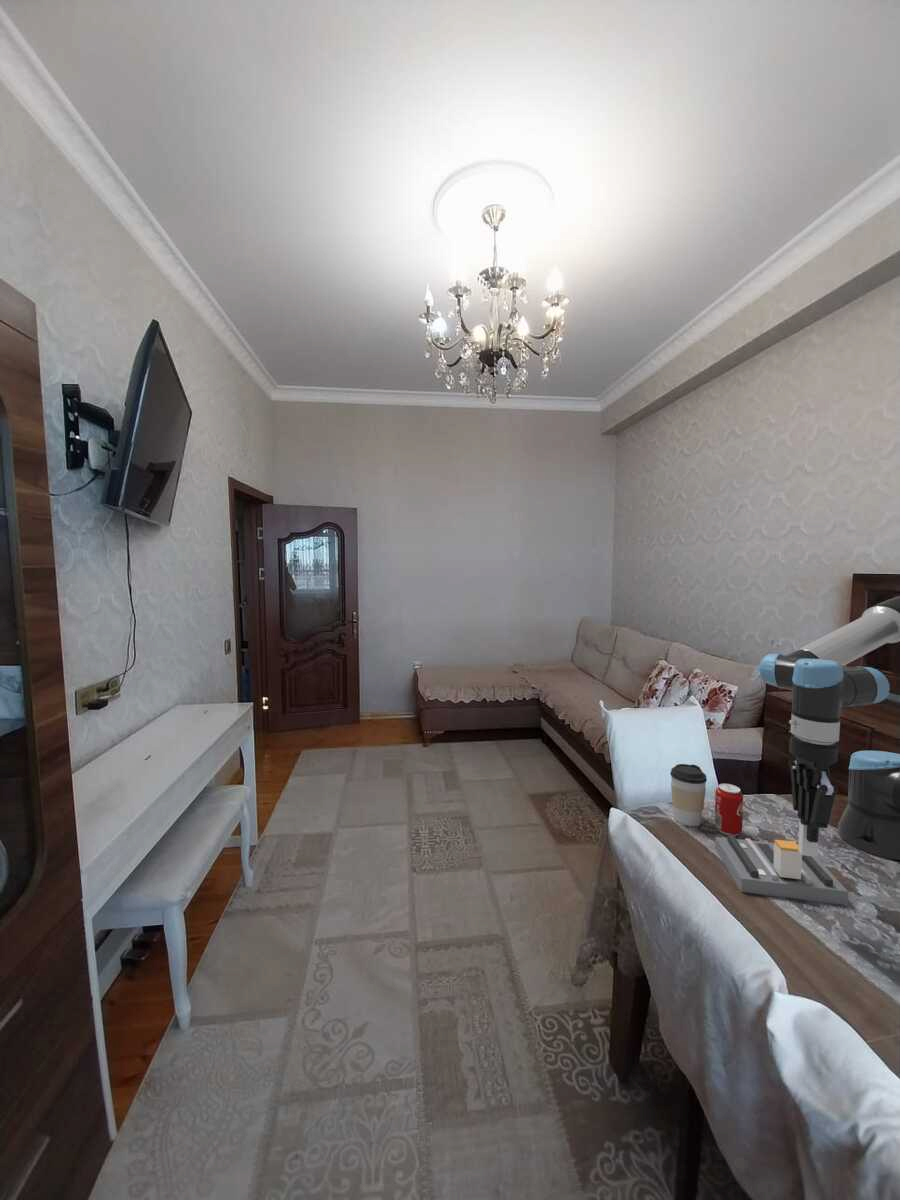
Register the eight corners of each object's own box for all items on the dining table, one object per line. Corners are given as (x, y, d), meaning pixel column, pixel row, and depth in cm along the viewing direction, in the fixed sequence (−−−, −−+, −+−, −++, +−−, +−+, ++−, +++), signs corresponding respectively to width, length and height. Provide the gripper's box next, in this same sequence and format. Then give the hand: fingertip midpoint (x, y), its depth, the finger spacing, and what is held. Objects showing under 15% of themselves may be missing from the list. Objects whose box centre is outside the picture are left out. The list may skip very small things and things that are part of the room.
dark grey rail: (733, 852, 114) (734, 835, 114) (759, 891, 100) (759, 871, 100) (725, 851, 114) (726, 834, 114) (749, 890, 101) (750, 870, 100)
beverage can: (746, 839, 119) (747, 794, 119) (719, 836, 121) (720, 792, 120) (736, 826, 126) (737, 783, 125) (710, 823, 127) (712, 781, 126)
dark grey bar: (798, 859, 111) (799, 842, 111) (833, 900, 97) (834, 880, 97) (789, 858, 111) (790, 841, 111) (823, 899, 98) (824, 879, 97)
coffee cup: (689, 831, 123) (691, 777, 122) (662, 815, 131) (663, 764, 130) (713, 824, 127) (714, 771, 126) (684, 808, 135) (686, 758, 134)
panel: (805, 858, 111) (806, 842, 111) (847, 905, 96) (848, 886, 96) (715, 848, 116) (715, 833, 115) (740, 891, 100) (741, 874, 100)
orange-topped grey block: (793, 870, 102) (794, 841, 101) (800, 879, 99) (802, 849, 98) (773, 868, 103) (774, 839, 102) (779, 876, 100) (781, 847, 99)
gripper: (776, 726, 98) (771, 833, 99) (810, 748, 85) (803, 871, 87) (816, 728, 96) (810, 837, 98) (857, 752, 84) (850, 877, 85)
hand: (807, 853), depth 92 cm, fingers closed
